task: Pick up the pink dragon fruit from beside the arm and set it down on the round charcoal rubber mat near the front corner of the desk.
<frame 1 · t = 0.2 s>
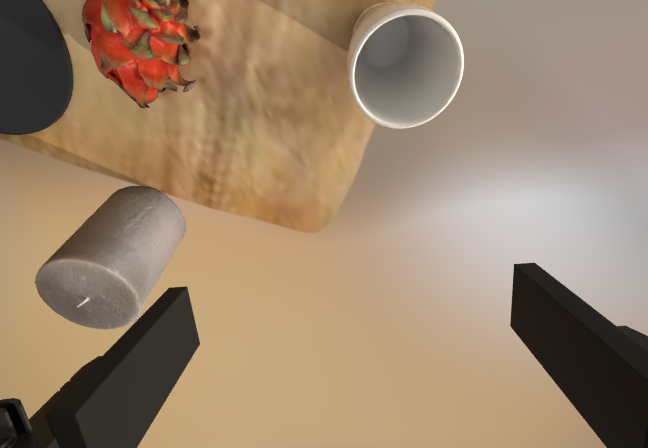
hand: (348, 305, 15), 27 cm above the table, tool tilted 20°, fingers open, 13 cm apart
dragon fruit: (161, 35, 34), on the table
pillar candle: (149, 217, 46), on the table
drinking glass: (380, 35, 34), on the table
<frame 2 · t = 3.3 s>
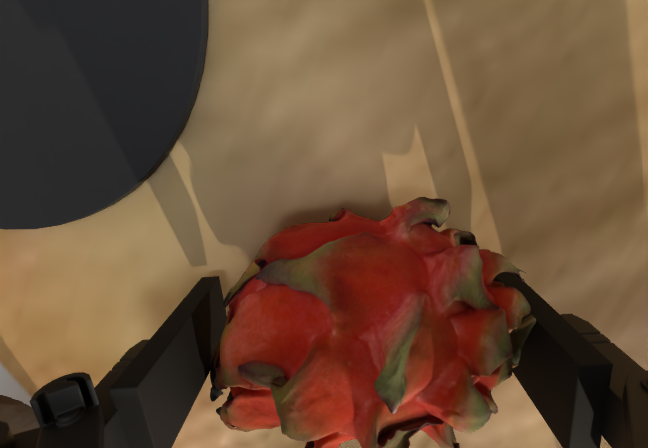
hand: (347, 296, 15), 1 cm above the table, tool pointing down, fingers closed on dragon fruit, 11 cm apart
dragon fruit: (347, 285, 16), on the table, touching gripper
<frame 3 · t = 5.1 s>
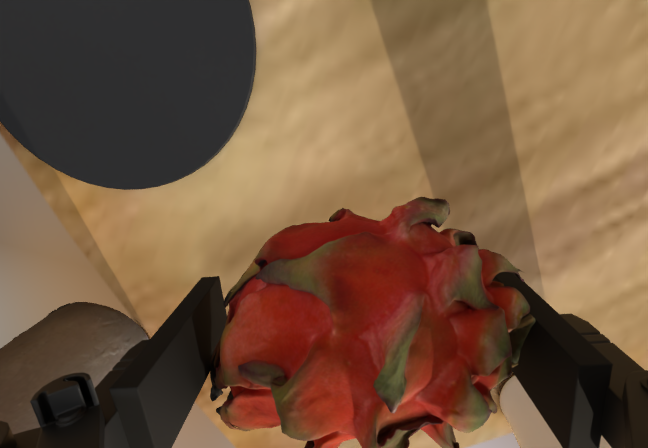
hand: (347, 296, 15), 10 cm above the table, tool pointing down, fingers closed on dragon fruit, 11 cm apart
dragon fruit: (346, 285, 16), point 9 cm above the table, touching gripper
pillar candle: (100, 353, 29), on the table
mat: (111, 44, 22), on the table
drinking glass: (529, 391, 29), on the table
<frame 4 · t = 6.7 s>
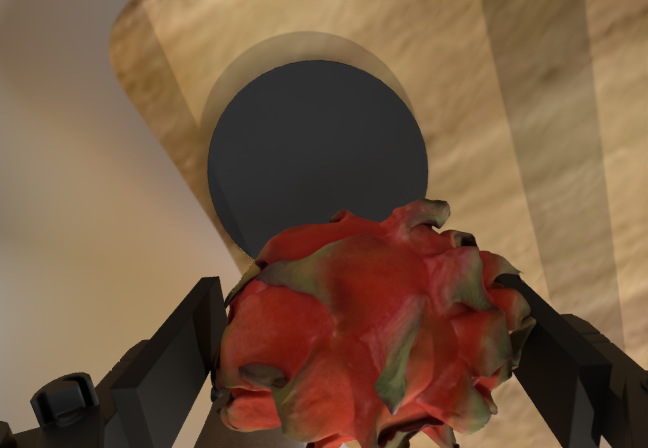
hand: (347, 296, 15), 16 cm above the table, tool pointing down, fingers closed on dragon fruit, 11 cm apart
dragon fruit: (347, 286, 16), point 15 cm above the table, touching gripper
pillar candle: (268, 396, 37), on the table
mat: (316, 178, 30), on the table
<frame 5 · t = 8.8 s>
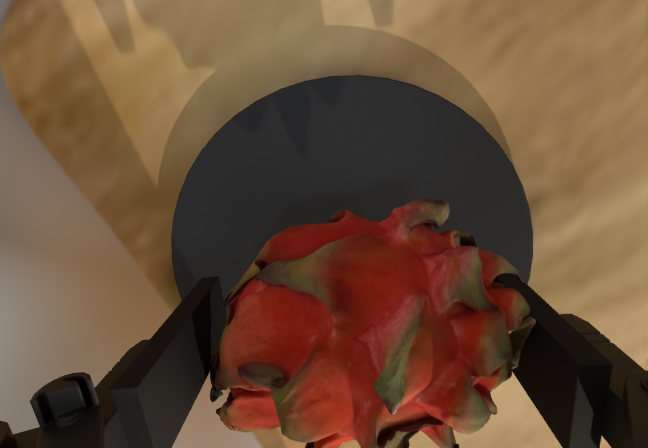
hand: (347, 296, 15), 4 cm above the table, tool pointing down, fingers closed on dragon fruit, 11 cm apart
dragon fruit: (346, 286, 16), point 3 cm above the table, touching gripper
mat: (347, 263, 19), on the table
when the fingers open (1 cm above the table, at t = 10.1 s): dragon fruit stays where it is, resting on mat.
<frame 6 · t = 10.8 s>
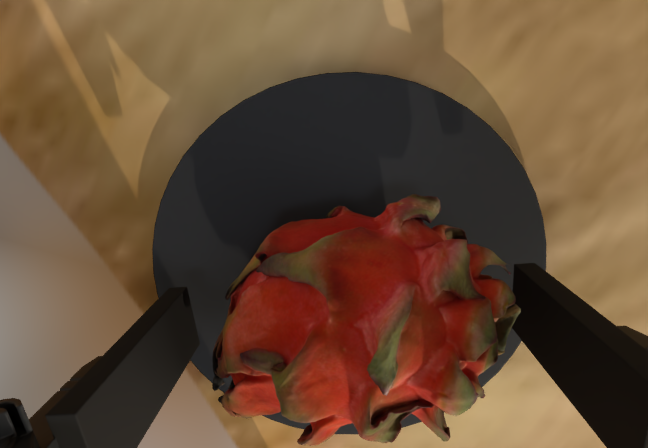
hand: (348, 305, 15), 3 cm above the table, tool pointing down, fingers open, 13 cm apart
dragon fruit: (343, 280, 17), resting on mat
mat: (344, 276, 17), on the table
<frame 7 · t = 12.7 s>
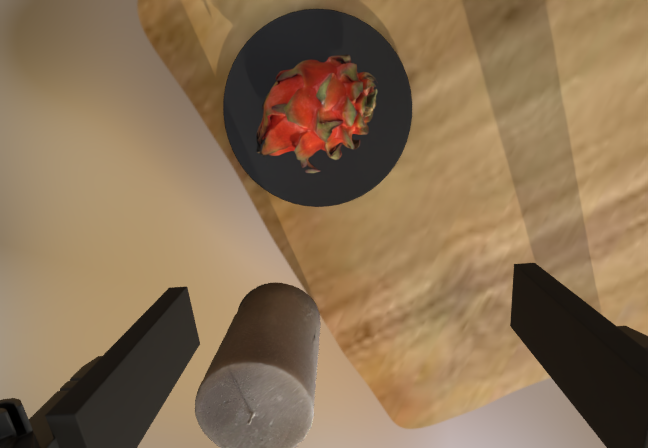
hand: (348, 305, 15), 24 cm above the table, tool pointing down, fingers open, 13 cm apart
dragon fruit: (316, 115, 35), resting on mat
pillar candle: (280, 319, 42), on the table
mat: (317, 115, 35), on the table
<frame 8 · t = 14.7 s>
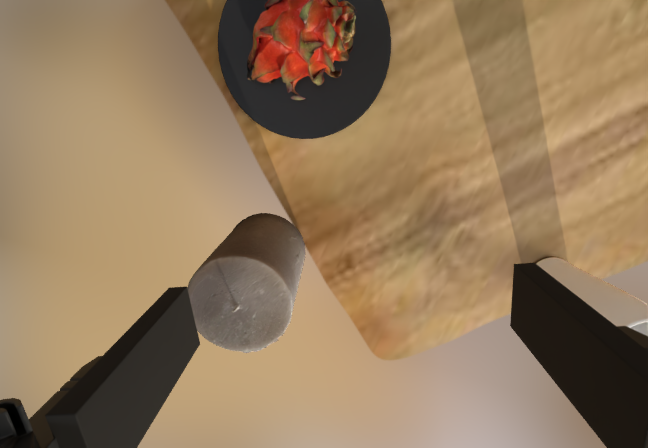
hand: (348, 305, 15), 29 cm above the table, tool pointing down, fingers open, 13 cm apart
dragon fruit: (303, 50, 38), resting on mat
pillar candle: (268, 249, 45), on the table
mat: (304, 50, 38), on the table
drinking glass: (547, 274, 45), on the table
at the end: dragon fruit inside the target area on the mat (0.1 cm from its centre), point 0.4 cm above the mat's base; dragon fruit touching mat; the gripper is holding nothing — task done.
